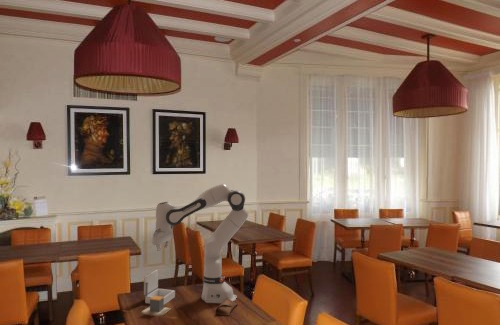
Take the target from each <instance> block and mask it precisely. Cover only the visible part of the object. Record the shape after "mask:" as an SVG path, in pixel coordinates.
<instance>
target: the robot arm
mask: <svg viewBox="0 0 500 325" xmlns="http://www.w3.org/2000/svg"><path fill="white" fill-rule="evenodd" d="M222 202H227V203H228V205H229V206H230V208H231V211H230V213H229V214H228V215H227V216H226V217H225V218H224V219H223V220H222V221H221V223H220V224H219V225H218V226H217V227H216V229H215V230H214V232H213V233H211V234H209V235H208V236H207V237H206V238H205V240H204V247H203V248H204V259H203V260H204V261H203V264H204V265H203V275H202V276H203V278H202V283H203V287H202V294H201V297H200V298H201V300H202V301H203V302H205V303H206V304H221V303H222V302H223V301H224V300H225V299H226V298H228V299H229V300H231V301H234V302H235V301H237V299H236V298H238V296H237V294H234V289H233V287H232V286H230V284H228V283H227V282H225V279H226V276H225V275H224V276H223V275H222V270H223V269H222V268H223V267H222V264H223V262H222V260H223V259H222V256H223V255H222V254H223V250H224V249H225V247H226V246H227V245H228V243H229V242H230V240H231V239H232V238H233V236H234V235H235V234H236V233H237V232H238V231H239V230H240V228H241V227H242V226H243V225H244V223H245V222H246V220H248V219H247V218H248V217H249V214H248V210H247V209H246V208H245V202H246V196H245V193H243V191H241V190H237V189H236V190H232V189H230V187H229V186H228V185H227V184H224V183H221V184H218V185H215V186H213V187H209V189H206V190H205V191H204V192H202V193H201V194H199V195H198V197H197V198H196V199H194V200H193V201H192V202H190V203H189V204H185V205H184V206H183V207H180V206H175V205H173V204H171V203H170V202H169V201H163V202H159V203H157V205H156V208H155V218H156V221H155V231H154V232H153V234H152V245H153V246H156V251H157V252H161V249H162V248H161V244H163V243H164V245H163V247H164V248H165V249H167V248H168V247H169V246H168V245H169V243H170V241H171V240H172V239H173V233H174V232H173V231H174V230H173V229H174V227H175V226H178V225H180V224H181V223H182V222H183V220H184V219H186V218H187V217H189V216H191V215H193V214H195V213H197V212H198V211H202V210H205V209H208V208H211V207H212V208H213V207H214V206H216V205H218V204H220V203H222Z"/></svg>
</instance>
